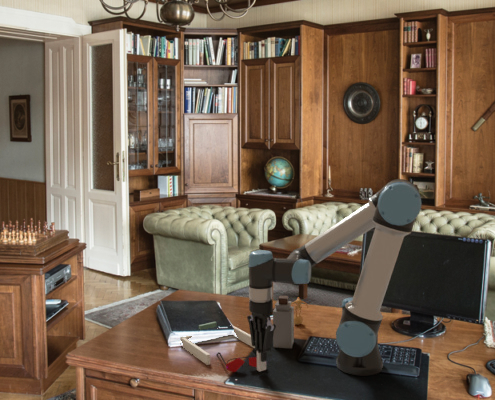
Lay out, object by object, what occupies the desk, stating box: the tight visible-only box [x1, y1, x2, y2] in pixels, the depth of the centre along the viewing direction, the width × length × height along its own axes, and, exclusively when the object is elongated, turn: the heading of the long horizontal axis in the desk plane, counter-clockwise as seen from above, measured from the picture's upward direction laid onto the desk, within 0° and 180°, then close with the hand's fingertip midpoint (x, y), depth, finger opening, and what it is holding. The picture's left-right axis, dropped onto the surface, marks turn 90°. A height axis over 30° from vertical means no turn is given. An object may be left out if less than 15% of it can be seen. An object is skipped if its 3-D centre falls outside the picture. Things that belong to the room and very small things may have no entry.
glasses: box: [216, 348, 267, 373], centre depth 190 cm, size 14×16×5 cm
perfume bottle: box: [272, 295, 295, 349], centre depth 204 cm, size 7×7×18 cm
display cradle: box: [179, 321, 255, 366], centre depth 202 cm, size 20×22×6 cm
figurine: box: [291, 296, 309, 326], centre depth 224 cm, size 8×6×12 cm
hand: (261, 369), depth 180 cm, fingers closed
